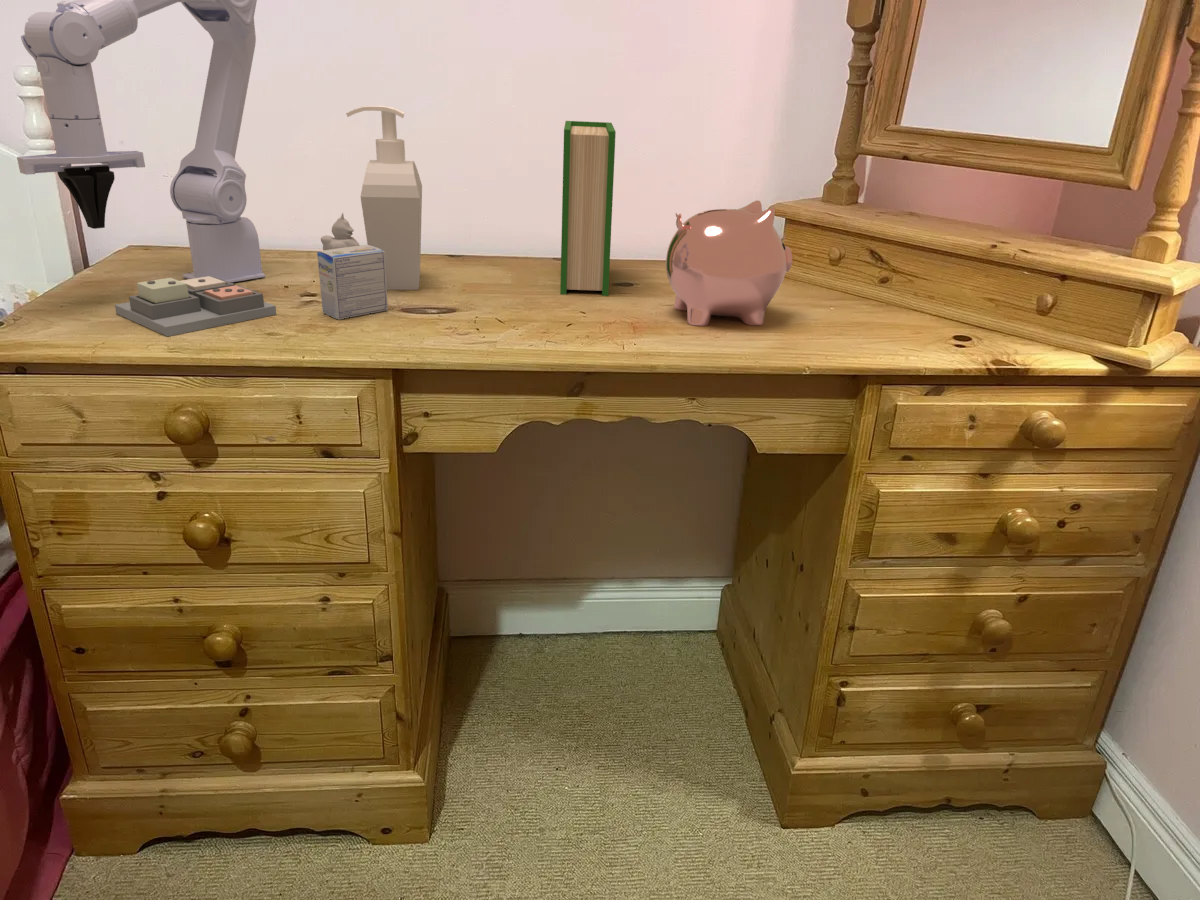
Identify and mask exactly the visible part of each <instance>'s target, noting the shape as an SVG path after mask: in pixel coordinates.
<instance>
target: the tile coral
mask: <svg viewBox="0 0 1200 900" xmlns="http://www.w3.org/2000/svg"><path fill="white" fill-rule="evenodd" d="M239 286H240V285H239ZM239 286H237V285H236V284H235V286H229V287H223V288H217V289H211V290H205V291H204V292H205V294H206V295H208V296H211V297H214V298H216V299H219V300H225V299H230V298H236V297H241V296H247V295H252V294H253V291H254V290H253V291H250V290H251V289H250V290H247V289H244V288H241V287H239Z"/></svg>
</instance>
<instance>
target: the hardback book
mask: <svg viewBox="0 0 1200 900" xmlns="http://www.w3.org/2000/svg"><path fill="white" fill-rule="evenodd" d="M616 132H617V131H616V129H615V126H614V125H613V124H612V122H603V121H601V122H599V121H583V120H582V121H581V120H579V121H578V120H565V122H564V127H563V151H562V152H563V159H562V160H563V161H562V163H563V164H562V201H561V202H562V203H561V240H560V241H561V243H560V244H561V245H560V246H561V247H560V248H561V249H560V253H561V255H560V286H559V287H560V290H559V291H560V292H559V294H560V295H561V296H562V295H564V296H566V295H567V292H568V291H567V290H571V291H573V290H575V291H576V290H577V291H601V296H602V297H609V291H610V290H609V288H610V287H609V285H610V263H611V247H612V246H611V243H612V241H611V240H612V220H613V219H612V218H613V197H614V180H615V179H614V176H615V174H614V172H615V158H616V157H615V156H616V152H615V151H616V134H617V133H616Z"/></svg>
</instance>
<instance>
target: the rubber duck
mask: <svg viewBox="0 0 1200 900" xmlns="http://www.w3.org/2000/svg"><path fill="white" fill-rule="evenodd" d="M354 231H355V230H354V229H353V228H352V226H351V225H350V223H349V221H348V219H345V217H344V212H342V213H341V215H340V217H338V218H337V220H336V221H335V222H334V223H333V225H332V226H331V233H332V235H333V236H331V235H323V236H321V237H320V242H321V243H322V251H323V250H330V249H337V248H345V247H353V246H361V245H360V243H359V242H358V241H357V240H356V238H354V237H353V236H352V235H353V232H354Z"/></svg>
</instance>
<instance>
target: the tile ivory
mask: <svg viewBox="0 0 1200 900" xmlns="http://www.w3.org/2000/svg"><path fill="white" fill-rule="evenodd" d="M180 281H181V282H183V283H186V284H187V288H190V289H193V290H197V289H203V288H209V287H215V286H221V285H226V283H225V282H224V281H221V280H219V279H216V278H213V277H210V276H207V277H201V278H194V279H183V280H180Z"/></svg>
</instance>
